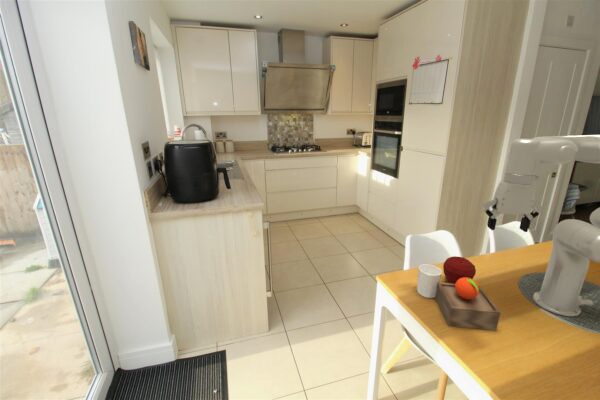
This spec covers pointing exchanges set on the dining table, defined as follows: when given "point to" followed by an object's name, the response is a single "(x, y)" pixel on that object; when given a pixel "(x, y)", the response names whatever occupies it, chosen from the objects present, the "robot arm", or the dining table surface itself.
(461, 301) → the walnut stand
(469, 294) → the clementine
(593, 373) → the dining table surface
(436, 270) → the white cup
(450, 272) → the apple
